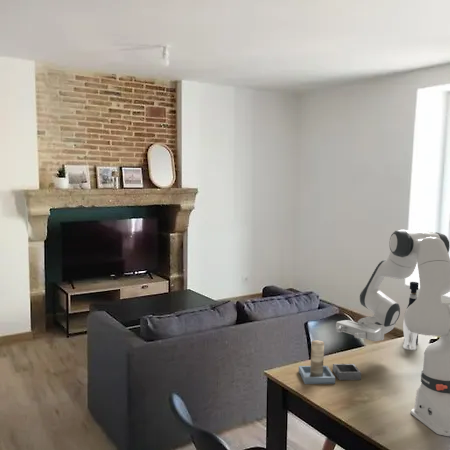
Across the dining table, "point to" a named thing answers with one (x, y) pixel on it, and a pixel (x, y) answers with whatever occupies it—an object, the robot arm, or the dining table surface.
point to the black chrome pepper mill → (413, 296)
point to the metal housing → (346, 372)
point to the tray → (326, 379)
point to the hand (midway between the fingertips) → (346, 333)
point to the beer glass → (409, 338)
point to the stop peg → (317, 358)
